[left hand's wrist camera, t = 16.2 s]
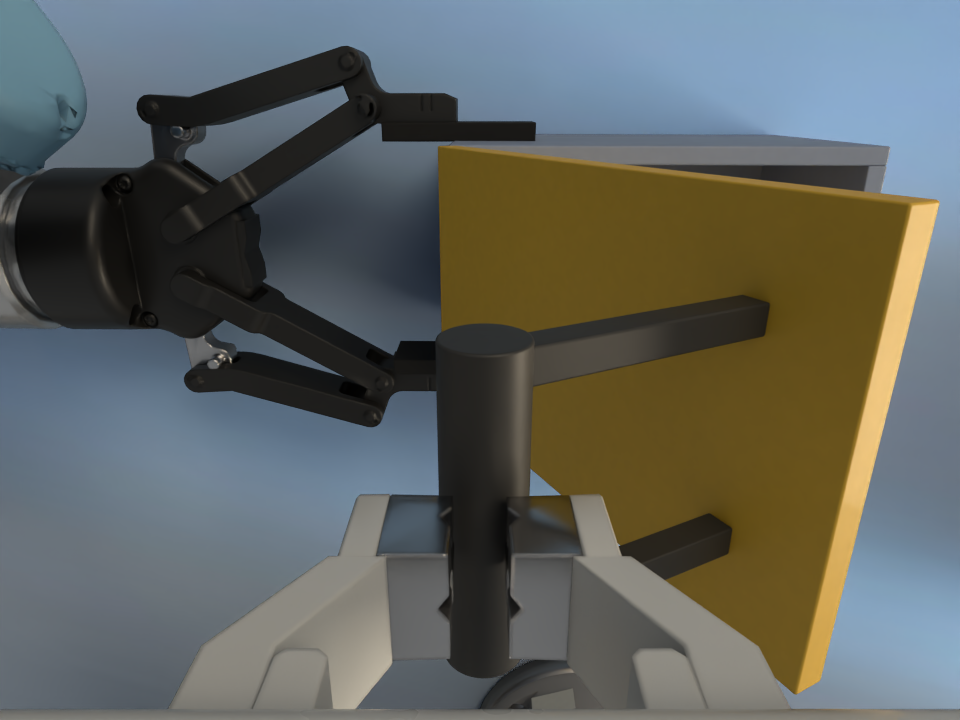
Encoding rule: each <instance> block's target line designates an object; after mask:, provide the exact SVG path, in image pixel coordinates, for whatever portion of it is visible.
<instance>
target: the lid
mask: <svg viewBox="0 0 960 720" xmlns="http://www.w3.org/2000/svg"><path fill="white" fill-rule="evenodd" d="M438 173H439V223H440V274H441V324H442V332H441V333H440V334H439V335H438V336H437V338H436V341H435V347H436V389H437V431H438V473H439V495H440V496H453V507H454V528H453V542H454V600H453V604H452V636H451V652H450V659H447V661H448V662H449V664H450V665H451V666H452V667H453V668H455V669H456V670H457V671H459V672H461V673H462V674H465V675H467V676H471V677H475V678H492V677H497V676H500V675H503V674H505V673H507V672H508V671H510V670H511V669H513V668H514V667H515V666H516V665H517V664H518V662H519V661H520V659H509V645H508V630H507V604H506V590H505V543H506V542H507V540H506V497H516V496H529V491H530V469H532V470H533V471H534V472H535V473H536V474H537V475H539V476H540V477H541V478H542V479H543V480H545V481H546V482H547V483H548V484H549V485H550V486H552V487H553V488H554V489H555V490H556V491H557V492H559V493H560V494H561V495H582V494H600V495H601V496H602V497H603V500H604V503H605V506H606V509H607V512H608V516H609V519H610V522H611V525H612V528H613V531H614V534H615V537H616V540H617V543H618V544H619V545H621V546H619V549H620V552H621V556H631V557H633V558H634V559H635V560H637V561H638V562H640V563H641V564H642V565H644V566H645V567H647V568H648V569H650V570H651V571H652V572H654V573H655V574H657V575H658V576H659V577H661V578H662V579H664V580H665V581H667V582H668V583H669V584H671V585H672V586H674V587H675V588H676V589H678V590H679V591H681V592H682V593H684V594H685V595H686V596H688V597H689V598H691V599H692V600H693V601H695V602H696V603H698V604H699V605H701V606H702V607H703V608H705V609H706V610H708V611H709V612H710V613H712V614H713V615H715V616H716V617H718V618H719V619H720V620H722V621H723V622H725V623H726V624H727V625H729V626H730V627H732V628H733V629H735V630H736V631H737V632H739V633H740V634H742V635H743V636H744V637H746V638H747V639H749V640H750V641H752V642H753V643H754V644H756V645H757V646H759V648H760V650H761V652H762V654H763V656H764V658H765V660H766V662H767V663H768V665H769V667H770V669H771V671H772V673H773V675H774V677H775V678H776V679H777V680H778V681H780V682H781V683H782V684H783V685H784V686H785V687H787V688H788V689H789V690H790V691H791V692H792V693H794V694H798V693H800V692H801V691H803V690H805V689H807V688H808V687H810V686H812V685H813V684H815V683H817V682H819V681H820V679H821V675H822V671H823V667H824V663H825V659H826V655H827V651H828V647H829V643H830V639H831V635H832V631H833V627H834V623H835V619H836V615H837V611H838V607H839V603H840V599H841V595H842V591H843V587H844V583H845V579H846V575H847V571H848V567H849V563H850V559H851V555H852V551H853V547H854V543H855V539H856V535H857V531H858V527H859V523H860V519H861V515H862V511H863V507H864V503H865V499H866V495H867V491H868V487H869V483H870V479H871V475H872V471H873V467H874V463H875V459H876V455H877V451H878V447H879V443H880V439H881V435H882V431H883V427H884V423H885V419H886V415H887V411H888V407H889V403H890V399H891V395H892V391H893V387H894V383H895V379H896V375H897V371H898V367H899V363H900V359H901V355H902V351H903V347H904V343H905V339H906V335H907V331H908V327H909V323H910V319H911V315H912V311H913V307H914V303H915V299H916V295H917V291H918V287H919V283H920V279H921V275H922V271H923V267H924V263H925V259H926V255H927V252H928V248H929V244H930V240H931V236H932V232H933V228H934V224H935V220H936V216H937V212H938V208H939V204H940V203H939V201H938V200H934V199H925V198H916V197H908V196H899V195H890V194H881V193H872V192H863V191H854V190H846V189H837V188H828V187H819V186H810V185H801V184H792V183H784V182H775V181H766V180H757V179H748V178H739V177H730V176H721V175H713V174H704V173H695V172H686V171H677V170H668V169H659V168H651V167H642V166H633V165H624V164H615V163H606V162H597V161H589V160H580V159H571V158H562V157H553V156H544V155H535V154H527V153H518V152H509V151H500V150H491V149H482V148H473V147H464V146H438Z"/></svg>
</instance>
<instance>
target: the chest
mask: <svg viewBox="0 0 960 720" xmlns="http://www.w3.org/2000/svg"><path fill="white" fill-rule="evenodd" d="M449 146H464V147H473V148H482V149H491V150H500V151H509V152H518V153H527V154H535V155H544V156H553V157H562V158H571V159H580V160H589V161H597V162H606V163H615V164H624V165H633V166H642V167H651V168H659V169H668V170H677V171H686V172H695V173H704V174H713V175H721V176H730V177H739V178H748V179H757V180H766V181H775V182H784V183H792V184H801V185H810V186H819V187H828V188H837V189H846V190H854V191H863V192H872V193H881V190H882V186H883V181H884V176H885V172H886V166H885V165H887V162H888V157H889V152H890V147H888V146H879V145H869V144H859V143H849V142H839V141H829V140H819V139H809V138H799V137H788V136H778V135H598V134H536V135H535V141H454V142H452V143H451V144H450V145H449Z"/></svg>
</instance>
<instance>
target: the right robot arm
mask: <svg viewBox="0 0 960 720" xmlns="http://www.w3.org/2000/svg"><path fill="white" fill-rule="evenodd" d="M341 86H344V89H345V91H346V94H347V96H348V99H349V101H348V102H346V103H345V104H343V105H342V106H340V107H338V108H337V109H335V110H334V111H332V112H331V113H329V114H328V115H326V116H325V117H323V118H322V119H320V120H319V121H317V122H315V123H314V124H312V125H311V126H309V127H308V128H306V129H305V130H303V131H302V132H300V133H299V134H297V135H296V136H294V137H292V138H291V139H289V140H288V141H286V142H285V143H283V144H282V145H280V146H279V147H277V148H276V149H274V150H272V151H271V152H269V153H268V154H266V155H265V156H263V157H262V158H260V159H259V160H257V161H256V162H254V163H253V164H251V165H249V166H248V167H246V168H245V169H243V170H242V171H240V172H238V173H236V174H234V175H232V176H230V177H229V178H227V179H225V180H224V181H222V182H221V183H220V182H219V181H218V180H216V179H215V178H213V177H212V176H210V175H209V174H207V173H206V172H204V171H203V170H201V169H200V168H198V167H197V166H196V165H194V164H193V163H191V162H190V161H188V160H186V159H185V153H186V150H187V149H188V147H190V146H191V145H194V144H198V143H201V142H202V141H203V140H204V139H205V136H206V126H211V125H220V124H226V123H230V122H233V121H236V120H239V119H243V118H246V117H249V116H252V115H255V114H258V113H261V112H264V111H267V110H270V109H273V108H276V107H279V106H282V105H285V104H289V103H292V102H295V101H298V100H301V99H304V98H307V97H310V96H313V95H316V94H319V93H322V92H325V91H328V90H332V89H335V88H338V87H341ZM86 110H87V98H86V91H85V87H84V83H83V80H82V77H81V74H80V71H79V69H78V66H77V64H76V62H75V60H74V58H73V56H72V54H71V52H70V50H69V49H68V47H67V45H66V43H65V42H64V40H63V39H62V37H61V36H60V34H59V33H58V31H57V30H56V28H55V27H54V26H53V24H52V23H51V22H50V20H49V19H48V18H47V16H46V15H45V14H44V13H43V11H42V10H41V9H40V7H39V6H38V5H37V4H36V3H35V1H34V0H0V328H21V329H57V328H60V327H63V326H64V327H67V328H72V329H163V330H166V331H169V332H172V333H174V334H176V335H178V336H180V337H183V338H185V341H186V346H187V350H188V354H189V358H190V362H191V366H192V369H191V370H190V371H189V372H187V373H186V375H185V377H184V382H185V385H186V386H187V387H188V388H189V389H190V390H191V391H193V392H218V391H235V392H239V393H242V394H246V395H250V396H254V397H257V398H261V399H265V400H269V401H272V402H276V403H280V404H284V405H287V406H291V407H295V408H299V409H303V410H306V411H310V412H314V413H318V414H321V415H325V416H329V417H333V418H336V419H340V420H344V421H348V422H351V423H355V424H359V425H363V426H366V427H375V426H377V425H378V424H380V422H381V420H382V418H383V415H384V412H385V409H386V406H387V404H388V401H389V399H390V397H391V396H392V395H393V394H394V393H396V392H399V391H437V389H436V347H435V341H400V344H399V347H398V349H397V352H396V351H395V353H394V355H391V354H389V353H387V352H385V351H383V350H382V349H380V348H378V347H376V346H374V345H372V344H370V343H368V342H366V341H365V340H363V339H361V338H359V337H357V336H355V335H353V334H351V333H350V332H348V331H346V330H344V329H342V328H340V327H338V326H336V325H335V324H333V323H331V322H329V321H327V320H325V319H323V318H321V317H320V316H318V315H316V314H314V313H312V312H310V311H308V310H306V309H305V308H303V307H301V306H299V305H297V304H295V303H293V302H291V301H290V300H288V299H286V298H285V296H284V294H283V293H282V292H280V291H279V290H277V289H275V288H273V287H271V286H269V285H267V284H266V283H264V282H263V280H264V279H265V278H266V268H265V262H264V259H263V256H262V254H261V251H260V249H259V240H260V233H261V227H260V218H259V214H255V213H254V211H253V209H252V207H251V206H250V205H251V204H253V203H255V202H256V201H258V200H259V199H261V198H262V197H264V196H266V195H267V194H269V193H270V192H272V191H273V190H274V189H275V188H277V187H278V186H280V185H282V184H283V183H285V182H286V181H288V180H289V179H291V178H293V177H294V176H296V175H297V174H299V173H300V172H302V171H304V170H305V169H307V168H308V167H310V166H311V165H313V164H315V163H316V162H318V161H319V160H321V159H322V158H324V157H326V156H327V155H329V154H330V153H332V152H333V151H335V150H337V149H338V148H340V147H341V146H343V145H344V144H346V143H348V142H349V141H351V140H352V139H354V138H355V137H357V136H359V135H360V134H362V133H363V132H365V131H366V130H368V129H370V128H371V127H373V126H374V125H376V124H377V123H381V125H382V141H535V135H536V123H535V122H532V121H458V99H457V98H455V97H452V96H450V95H448V94H445V93H387V92H385V91H384V90H383V89H381V87H380V86H379V85H378V83H377V81H376V78H375V76H374V73H373V71H372V68H371V61H370V59H369V57H368V56H367V55H366V54H365V53H364V52H362V51H359V50H357V49H355V48H352V47H349V46H341V47H338V48H335V49H332V50H329V51H326V52H323V53H320V54H317V55H314V56H311V57H308V58H305V59H302V60H299V61H296V62H293V63H290V64H287V65H284V66H281V67H278V68H275V69H272V70H269V71H266V72H263V73H260V74H257V75H254V76H251V77H248V78H245V79H242V80H239V81H236V82H233V83H230V84H227V85H224V86H221V87H218V88H215V89H212V90H209V91H206V92H203V93H200V94H197V95H194V96H191V97H190V96H175V95H144V96H142V97H141V98H139V100H138V102H137V112H138V115H139V116H140V118H141V119H142V120H143V121H144V122H146V123H148V124H151V133H152V143H153V152H154V159H153V160H151V161H149V162H148V163H146V164H145V165H143V166H141V167H139V168H54V169H50V170H48V171H46V170H43V169H42V168H44V164H45V160H47V159H48V158H49V157H50V156H51V155H52V154H54V153H55V152H56V151H57V150H58V149H60V148H61V147H62V146H63V145H64V144H65V143H67V142H68V141H69V140H70V139H71V138H73V137H74V136H75V134H76V133H77V132H78V131H79V130H80V128H81V126H82V124H83V122H84V120H85V116H86ZM224 320H226V321H228V322H230V323H232V324H234V325H236V326H238V327H240V328H242V329H244V330H246V331H248V332H251V333H260V334H263V335H265V336H267V337H269V338H271V339H273V340H275V341H277V342H279V343H281V344H283V345H285V346H286V347H288V348H290V349H292V350H294V351H296V352H298V353H300V354H302V355H304V356H306V357H308V358H310V359H311V360H313V361H315V362H317V363H319V364H321V365H323V366H325V367H327V368H329V369H331V370H333V371H335V372H336V373H338V374H340V375H342V376H339V375H335V374H332V373H328V372H324V371H321V370H317V369H313V368H310V367H306V366H302V365H299V364H295V363H291V362H288V361H284V360H280V359H277V358H273V357H269V356H266V355H262V354H257V353H252V352H237V350H236V349H237V348H236V346H235V345H234V344H232V343H226V342H221V341H219V340H217V339H216V338H215V337H214V335H213V334H212V331H211V330H212V329H213V328H215V327H216V326H217V325H218V324H220V323H221V322H222V321H224ZM343 376H344V377H343ZM480 709H604V708H603V707H602V706H601V704H600V703H599V702H598V701H597V699H596V698H595V697H594V696H593V695H592V693H591V692H590V691H589V690H588V688H587V687H586V686H585V685H584V684H583V682H582V681H581V680H580V679H579V677H578V676H577V675H576V674H575V672H574V671H573V670H572V669H571V668H570V666H569V665H568V664H567V660H535V661H532V662H530V663H527V664H525V665H523V666H521V667H519V668H517V669H515V670H514V671H512V672H511V673H509V674H508V675H506V676H505V677H504V678H503V679H501V680H500V681H499V682H498V683H497V684H496V685H495V686H494V687H493V688H492V690H491V691H490V692H489V693H488V695H487V696H486V698H485V700H484V701H483V704H482V706H481V708H480Z"/></svg>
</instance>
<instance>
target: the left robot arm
mask: <svg viewBox="0 0 960 720" xmlns="http://www.w3.org/2000/svg"><path fill="white" fill-rule="evenodd" d="M453 528H454V507H453V496H440V495H389V494H362V495H359V496H358V497H357V498H356V501H355V504H354V507H353V510H352V513H351V516H350V519H349V522H348V525H347V529H346V532H345V535H344V538H343V541H342V544H341V547H340V550H339V553H338V556H328V557H327V558H325V559H324V560H323V561H321V562H320V563H318V564H317V565H315V566H314V567H313V568H311V569H310V570H308V571H307V572H305V573H304V574H303V575H301V576H300V577H298V578H297V579H295V580H294V581H293V582H291V583H290V584H288V585H287V586H285V587H284V588H283V589H281V590H280V591H278V592H277V593H276V594H274V595H273V596H271V597H270V598H268V599H267V600H266V601H264V602H263V603H261V604H260V605H258V606H257V607H256V608H254V609H253V610H251V611H250V612H248V613H247V614H246V615H244V616H243V617H241V618H240V619H238V620H237V621H236V622H234V623H233V624H231V625H230V626H229V627H227V628H226V629H224V630H223V631H221V632H220V633H219V634H217V635H216V636H214V637H213V638H211V639H210V640H209V641H207V642H206V643H204V644H203V645H201V647H200V649H199V651H198V653H197V655H196V657H195V659H194V660H193V662H192V664H191V666H190V668H189V670H188V672H187V674H186V676H185V677H184V679H183V681H182V683H181V685H180V687H179V689H178V691H177V693H176V695H175V696H174V698H173V700H172V702H171V704H170V706H169V708H168V709H0V720H960V709H791V708H790V706H789V704H788V702H787V700H786V698H785V696H784V694H783V692H782V690H781V689H780V687H779V685H778V683H777V681H776V679H775V677H774V675H773V673H772V671H771V669H770V667H769V665H768V663H767V662H766V660H765V658H764V656H763V654H762V652H761V650H760V648H759V646H757V645H756V644H754V643H753V642H752V641H750V640H749V639H747V638H746V637H744V636H743V635H742V634H740V633H739V632H737V631H736V630H735V629H733V628H732V627H730V626H729V625H727V624H726V623H725V622H723V621H722V620H720V619H719V618H718V617H716V616H715V615H713V614H712V613H710V612H709V611H708V610H706V609H705V608H703V607H702V606H701V605H699V604H698V603H696V602H695V601H693V600H692V599H691V598H689V597H688V596H686V595H685V594H684V593H682V592H681V591H679V590H678V589H676V588H675V587H674V586H672V585H671V584H669V583H668V582H667V581H665V580H664V579H662V578H661V577H659V576H658V575H657V574H655V573H654V572H652V571H651V570H650V569H648V568H647V567H645V566H644V565H642V564H641V563H640V562H638V561H637V560H635V559H634V558H633V557H631V556H621V552H620V549H619V546H618V543H617V540H616V537H615V534H614V531H613V528H612V525H611V522H610V519H609V516H608V512H607V509H606V506H605V503H604V500H603V497H602V496H601V495H600V494H582V495H555V496H516V497H506V540H507V542H506V543H505V590H506V604H507V630H508V645H509V659H531V660H567V664H568V665H569V666H570V668H571V669H572V670H573V671H574V672H575V674H576V675H577V676H578V677H579V679H580V680H581V681H582V682H583V684H584V685H585V686H586V687H587V688H588V690H589V691H590V692H591V693H592V695H593V696H594V697H595V698H596V699H597V701H598V702H599V703H600V704H601V706H602V707H603V708H604V709H356V708H357V706H358V705H359V704H360V703H361V702H362V700H363V699H364V698H365V697H366V695H367V694H368V693H369V692H370V691H371V689H372V688H373V687H374V686H375V684H376V683H377V682H378V681H379V680H380V678H381V677H382V676H383V675H384V674H385V672H386V671H387V670H388V669H389V667H390V666H391V665H392V660H427V659H450V652H451V636H452V604H453V600H454V542H453Z"/></svg>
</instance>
